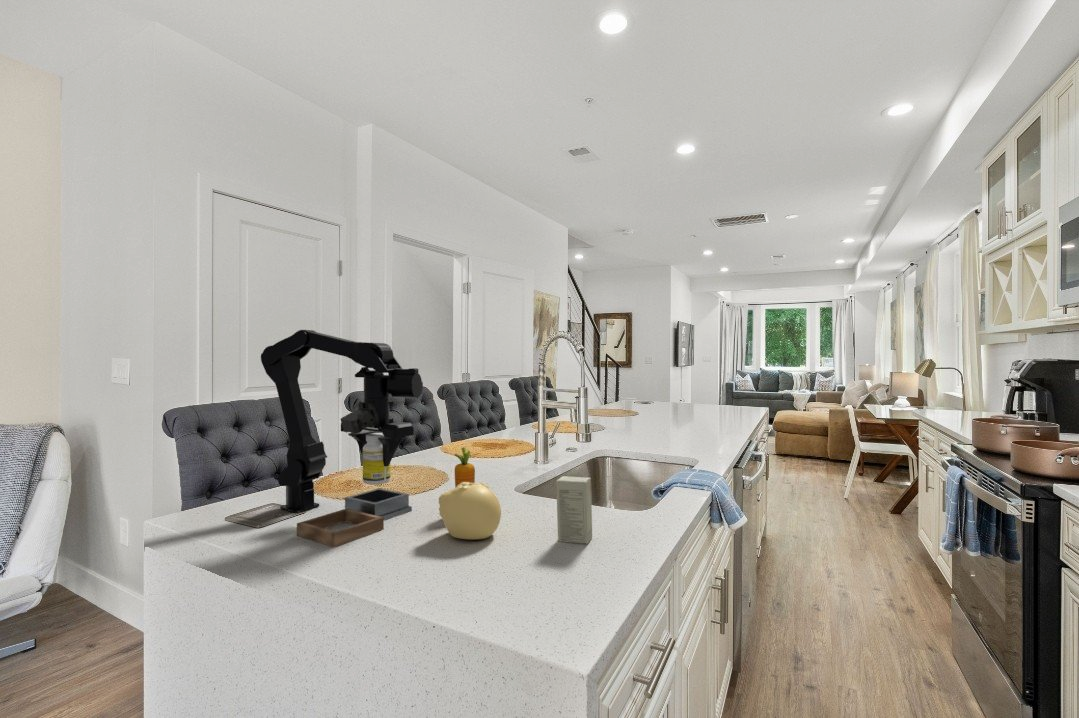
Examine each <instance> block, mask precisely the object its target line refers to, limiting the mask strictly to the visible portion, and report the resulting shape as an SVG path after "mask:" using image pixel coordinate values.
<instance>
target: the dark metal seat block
mask: <svg viewBox="0 0 1079 718" xmlns="http://www.w3.org/2000/svg"><path fill="white" fill-rule="evenodd" d="M409 495H410V494H409V493H406V492H400V491H396V490H392V489H391V490H390V489H385V488H374V489H371V490H368V491H364V492H361V493H357V494H354V495H351V496H346V497H344V509H351V510H355V511H359V512H363V513H367V514H371V515H376V516H380V517H384V521H386V520H389V519H392V518H394V517H398V516H400V515H404V514H406V513H410V512H412V511H413V507H412V506H411V505H409V504H410V501H409V500H410V498H409Z"/></svg>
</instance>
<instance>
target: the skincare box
mask: <svg viewBox="0 0 1079 718" xmlns="http://www.w3.org/2000/svg"><path fill="white" fill-rule="evenodd" d="M555 484H556V510H557V511H556V512H557V513H556V515H557V521H556V522H557V541H558V542H562V541H566V542H565V543H572V542H578V543H577V544H583V543H588V544H589V542H590V541H591V540H592V539H593V513H592V511H593V510H592V508H593V507H592V501H593V500H592V478H591V477H586V476H585V477H584V476H568V475H565V476H564V475H562V476H561V477H559V478H558V479H556V483H555Z"/></svg>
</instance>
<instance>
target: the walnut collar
mask: <svg viewBox="0 0 1079 718" xmlns="http://www.w3.org/2000/svg"><path fill="white" fill-rule="evenodd" d="M384 522H385V520H384V517H380V516H376V515H371V514H367V513H363V512H359V511H355V510H351V509H345V508H343V509H340V510H337V511H333V512H330V513H326V514H323V515H321V516H317V517H313V518H311V519H307V520H303V521H300V522H298V523H296V536H298V537H301V538H304V539H308V540H311V541H314V542H317V543H320V544H324V545H327V546H331V547H333V548H336V547H339V546H342V545H344V544H347V543H350V542H352V541H355V540H358V539H361V538H363V537H366V536H369V535H372V534H375V533H377V532H379V531H382V530H385V528H384V524H385V523H384ZM342 523H348V524H349V523H350V524H354V525H352V526H349V527H346V528H343V529H340V530H337V531H335V530H331V529H328V528H330V527H333V526H336V525H339V524H342Z"/></svg>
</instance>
